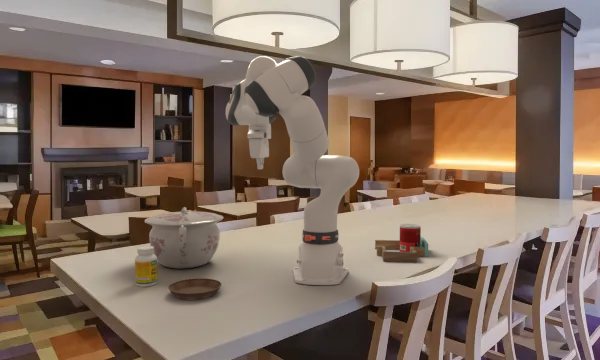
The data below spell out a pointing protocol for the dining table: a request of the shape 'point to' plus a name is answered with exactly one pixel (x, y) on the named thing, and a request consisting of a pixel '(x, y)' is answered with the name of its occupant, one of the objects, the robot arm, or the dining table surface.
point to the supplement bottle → (146, 267)
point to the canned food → (409, 236)
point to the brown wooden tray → (395, 247)
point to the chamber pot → (184, 238)
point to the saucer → (194, 288)
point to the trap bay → (399, 256)
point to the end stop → (424, 245)
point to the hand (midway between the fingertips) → (260, 169)
